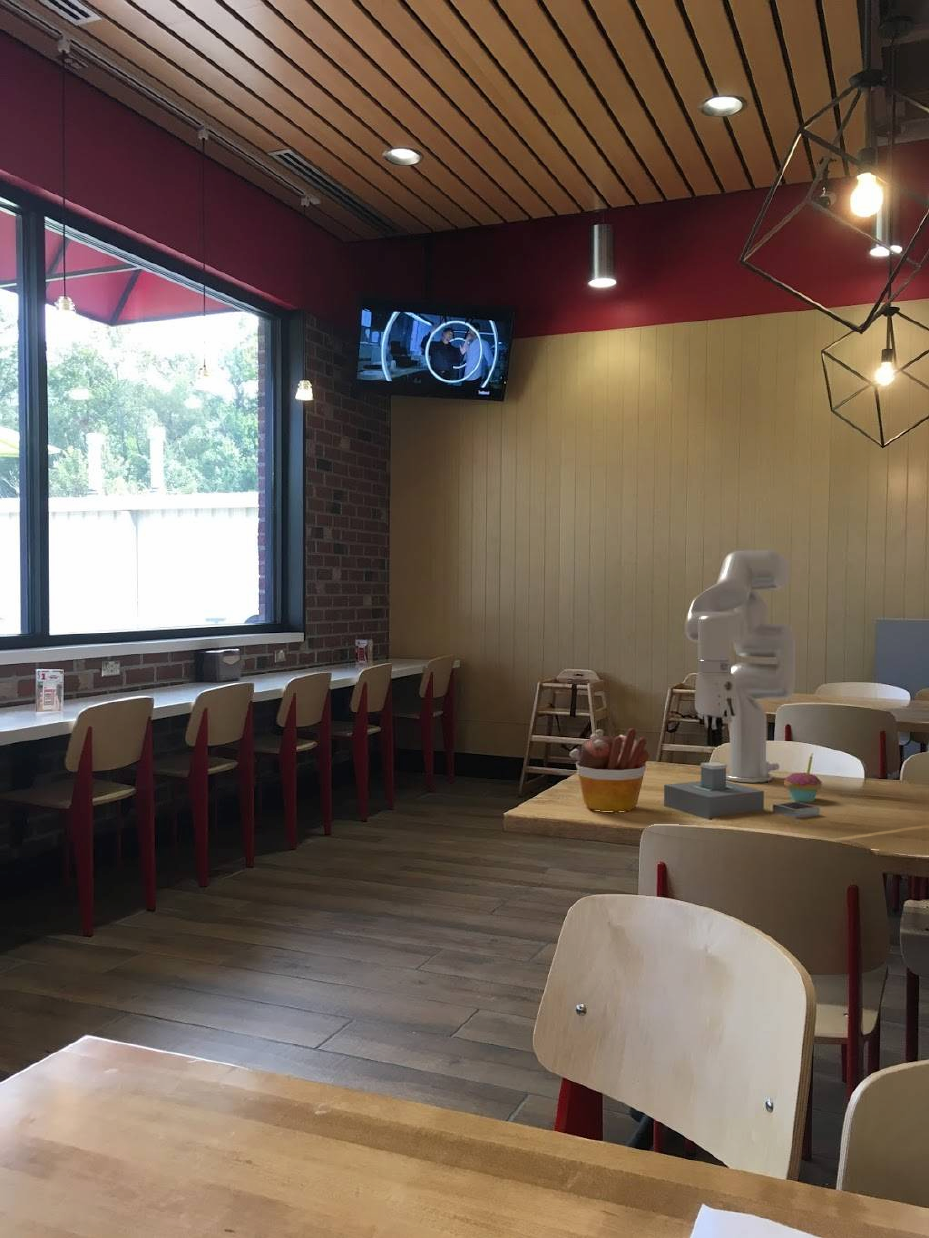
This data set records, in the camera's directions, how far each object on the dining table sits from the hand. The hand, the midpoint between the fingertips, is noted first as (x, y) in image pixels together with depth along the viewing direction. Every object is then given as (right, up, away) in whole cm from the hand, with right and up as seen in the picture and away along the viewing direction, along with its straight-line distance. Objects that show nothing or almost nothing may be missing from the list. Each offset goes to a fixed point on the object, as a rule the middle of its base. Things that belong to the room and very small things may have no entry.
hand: (714, 745), depth 234 cm
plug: (0, -14, -1) cm, 14 cm away
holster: (+17, -15, -8) cm, 24 cm away
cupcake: (+23, -15, +8) cm, 29 cm away
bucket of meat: (-24, -15, 0) cm, 28 cm away
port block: (0, -15, 0) cm, 15 cm away
